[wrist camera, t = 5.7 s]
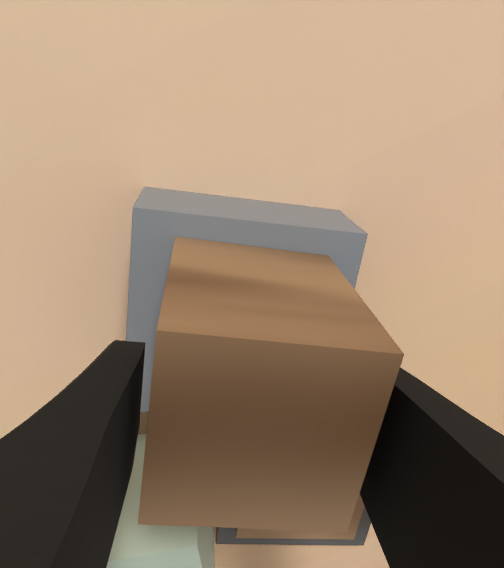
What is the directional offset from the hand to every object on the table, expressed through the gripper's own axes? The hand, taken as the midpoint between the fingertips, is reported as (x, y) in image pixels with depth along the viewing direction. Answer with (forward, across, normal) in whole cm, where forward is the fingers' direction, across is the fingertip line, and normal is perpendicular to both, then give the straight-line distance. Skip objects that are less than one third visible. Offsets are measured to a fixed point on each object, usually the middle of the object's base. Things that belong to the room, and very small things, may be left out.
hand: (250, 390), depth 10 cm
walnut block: (+3, 0, 0) cm, 3 cm away
